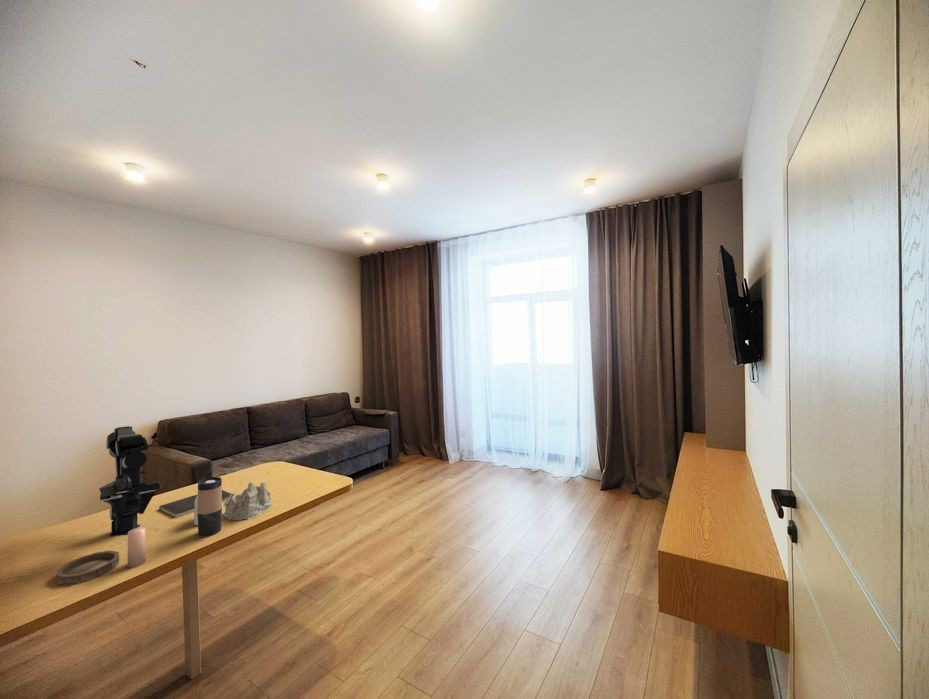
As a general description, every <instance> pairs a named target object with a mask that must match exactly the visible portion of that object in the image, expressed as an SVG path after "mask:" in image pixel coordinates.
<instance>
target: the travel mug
mask: <svg viewBox="0 0 929 699" xmlns="http://www.w3.org/2000/svg"><path fill="white" fill-rule="evenodd" d="M222 482H223V480H222V477H219V476H218V477H217V476H215V477H214V476H212V477H207V478H204V479H201V480H199V481H198V482H197V494H198V511H197V514H198V525H197V534H198V537H201V538H205V537H210V536H214V535H217V534H218V533H220V532H221V530H222V514H223V513H222V511H223V502H222V490H223V489H222V488H223V485H222V484H223V483H222Z"/></svg>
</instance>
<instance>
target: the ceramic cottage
mask: <svg viewBox="0 0 929 699" xmlns="http://www.w3.org/2000/svg"><path fill="white" fill-rule="evenodd" d="M235 494H236V493H234V492H231V495H230V496H229V497H228V499H227V500H226V501H224V502H223V506H224V510H225V512H224V515H223V516H224V517H225V518H226V517H228V518H230V519H238V520H237V521H241V520H240V519H247V520H249V519H248V518H251V517H253V516H256V515H258V514H260V513H262V512H263V511H265V510H267V509H269V508H270V507H272V505H274V504H273V502H272V501H271V497H270V496H271V493H270V492H269V491H268V489H267V485H266V482H265V481H261V482H260V486H257V485H255V484H254V483H253V481H249V482H248V485H247V488H245V489H244V490H243V491H242V492H240V493H239V494H236V495H235ZM228 518H227V519H228ZM230 519H229V520H230Z"/></svg>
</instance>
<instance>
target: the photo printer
mask: <svg viewBox="0 0 929 699" xmlns="http://www.w3.org/2000/svg"><path fill="white" fill-rule="evenodd" d="M197 511H198V496H197V497H196V499H195V507H194V512H193V513H194V514H193V515H194V516H193V518H194V522H193V523H194V525H195V526H198V514H197Z"/></svg>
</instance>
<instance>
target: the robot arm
mask: <svg viewBox="0 0 929 699" xmlns="http://www.w3.org/2000/svg"><path fill="white" fill-rule="evenodd" d="M105 444H106V449H107V450H108V454H109V455H110V456H111V457H112V458H113V459H114V463H115V474H116V475H115V476H116V477H115V480H113V481H112V482H109V483H107V484H105V485H103V486H101V487H99V488H98V489H99V491H100V495H99V501H102V502H103V503H107V504H109V505H110V507H109V519H110V521H111V523H110V524H111V527H110V529H111V533H110V534H109V536H110V537H111V536H120V535H128V532H129V531H130V530H132V529H135V528H139V527H141V524H138V517H139V516H138V514H139V515H144V513H145V511H146V509H147V508H148V506H149V504H150V502H151V500H152V499H153V497H154V496H155V494H156V493H158V490H160V489H161V483H160V481H151V482H147V483H146V482H142V479H143V478H142V477H143V476H142V475H146V470H143V471H142V469H143V466H144V465H145V464H146V463H147V455H146V454H145V453H144V452H147V451H148V450H149V444H148V440H147V439H146V437H145V436H143V435H142V434H141V433H136V431H134V430H133V426H129V425H128V426H120V427H116V428H114V430H113V432H110V434H108V435H107V437H106V442H105Z"/></svg>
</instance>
